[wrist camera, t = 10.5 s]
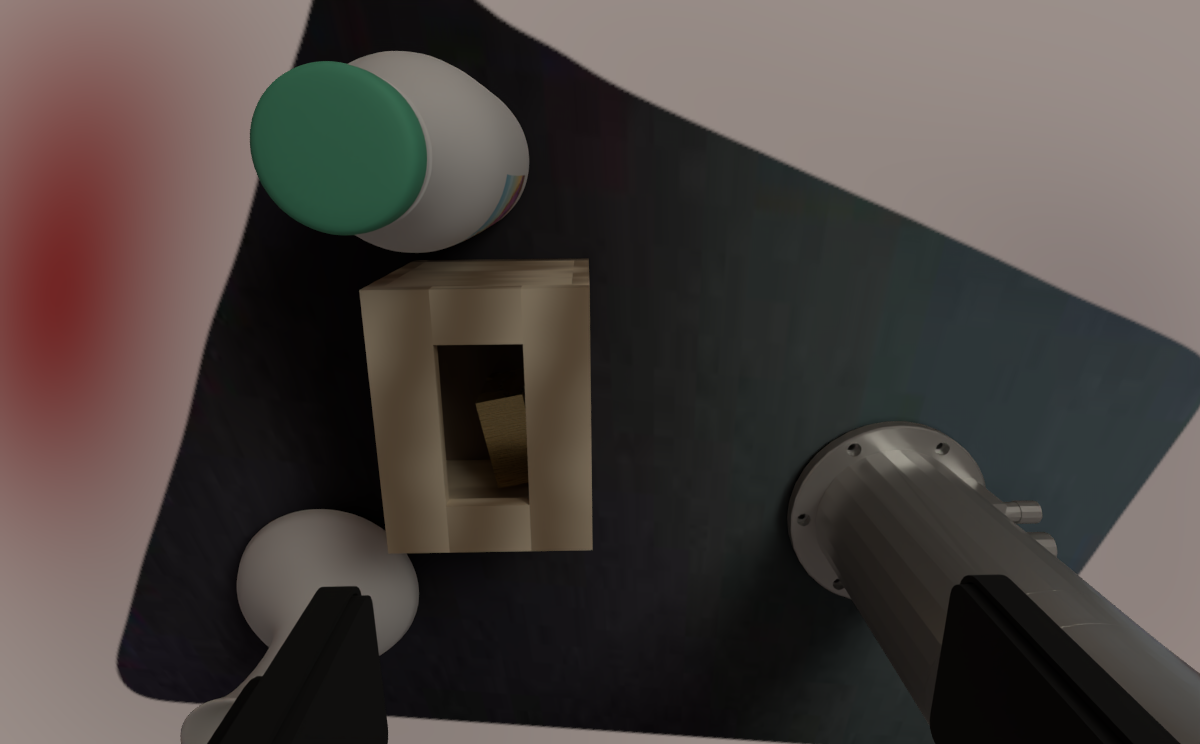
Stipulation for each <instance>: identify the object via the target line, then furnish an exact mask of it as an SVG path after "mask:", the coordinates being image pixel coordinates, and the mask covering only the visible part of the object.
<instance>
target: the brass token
mask: <svg viewBox="0 0 1200 744" xmlns="http://www.w3.org/2000/svg"><path fill="white" fill-rule="evenodd" d="M475 404H476V407H477V411H478V415H479V419H480V422H481V426H482V430H483V433H484V437H485V441H486V444H487V448H488V452H489V455H490V459H491V463H492V467H493V470H494V474H495V478H496V481H497V485H498V488H503V487H508V486H513V485H518V484H524V483H529V480H528V455H527V431H526V406H525V382H524V369H519V370H514V371H509V372H504V373H499V374H494V375H489V376H488V378H487V380H486V382H485V384H484V386H483V388H482V391H481V393H480V395H479V397H478V399H477V401H476V403H475Z"/></svg>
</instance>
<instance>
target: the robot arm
mask: <svg viewBox="0 0 1200 744" xmlns="http://www.w3.org/2000/svg"><path fill="white" fill-rule="evenodd" d="M851 444H852V446H851V447H849V446H850V445H851ZM848 447H849V448H848ZM801 514H802V515H801ZM800 515H801V516H800ZM1041 519H1042V510H1041V507H1040V505H1039V504H1038V503H1037V502H1036V501H1033V500H1032V501H1012V502H1002V501H1001V500H1000V499H998V498H997V497H996V496H995V495H993V494H992V493H991V492H990V491H988V490H987V489H986V486H985V481H984V478H983V476H982V473H981V471H980V469H979V467H978V465H977V463H976V462H975V461H974V459H973V458H972V457H971V455H970V454H969V453H968V451H967V450H965V449H964V448H963V447H962V446H960V445H959V444H958V443H957V442H956V441H954V440H953V439H951V438H950V437H948V436H947V435H945V434H944V433H942V432H941V431H939V430H936V429H934V428H931V427H928V426H926V425H923V424H918V423H912V422H906V421H886V422H880V423H875V424H870V425H866V426H863V427H860V428H858V429H855V430H852V431H850V432H847V433H846V434H844V435H842V436H840V437H839V438H837V439H835V440H834V441H832V442H830V443H829V444H828V445H827V446H826V447H824V448H823V449H822V450H821V451H820V452H818V453H817V454H816V455H815V456H814V458H813V459H812V460H811V461H810V462H809V463H808V465H807V466H806V467H805V468H804V470H803V471H802V473H801V475H800V476H799V478H798V480H797V482H796V483H795V486H794V489H793V491H792V494H791V497H790V500H789V506H788V514H787V524H788V534H789V538H790V541H791V544H792V547H793V550H794V552H795V553H796V555H797V557H798V559H799V561H800V563H801V564H802V566H803V567H804V569H805V570H806V571H807V573H808V574H809V575H810V576H811V577H812V578H813V579H814V580H815V581H816V582H818V583H819V584H820V585H821V586H822V587H824V588H826V589H827V590H829V591H831V592H832V593H834V594H837V595H840V596H843V597H845V598H848V599H851V600H852V601H853V602H854V604H855V606H856V607H857V609H858V610H859V612H860V614H861V615H862V617H863V619H864V620H865V622H866V623H867V625H868V627H869V628H870V630H871V632H872V633H873V635H874V636H875V638H876V640H877V641H878V643H879V644H880V646H881V648H882V649H883V651H884V653H885V654H886V656H887V657H888V659H889V661H890V662H891V664H892V666H893V667H894V669H895V670H896V672H897V674H898V675H899V677H900V678H901V680H902V682H903V683H904V685H905V687H906V688H907V690H908V691H909V693H910V695H911V696H912V698H913V699H914V701H915V703H916V704H917V706H918V708H919V709H920V711H921V712H922V714H923V716H924V717H925V719H926V721H927V722H928V724H929V725H930V729H931V734H932V737H933V740H934V742H935V744H1200V673H1198V672H1197V671H1196V670H1194V669H1193V668H1192V667H1191V666H1189V665H1188V664H1187V663H1185V662H1184V661H1183V660H1181V659H1180V658H1179V657H1178V656H1176V655H1175V654H1174V653H1172V652H1171V651H1170V650H1169V649H1167V648H1166V647H1165V646H1163V645H1162V644H1161V643H1160V642H1158V641H1157V640H1156V639H1154V637H1152V636H1151V635H1150V634H1149V633H1147V632H1146V631H1145V630H1144V629H1142V628H1141V627H1140V626H1139V625H1138V624H1136V623H1135V622H1134V621H1133V620H1132V619H1130V618H1129V617H1128V616H1127V615H1125V614H1124V613H1123V612H1122V611H1121V610H1119V609H1118V608H1117V607H1116V606H1115V605H1113V604H1112V603H1111V602H1110V601H1108V600H1107V599H1106V598H1105V597H1104V596H1102V595H1101V594H1100V593H1099V592H1098V591H1096V590H1095V589H1094V588H1093V587H1092V586H1090V585H1089V584H1088V583H1087V582H1085V581H1084V580H1083V579H1082V578H1081V577H1079V576H1078V575H1077V574H1076V573H1075V572H1073V571H1072V570H1071V569H1070V568H1069V567H1067V566H1066V565H1065V564H1064V563H1063V562H1061V561H1060V560H1059V559H1058V558H1056V556H1057V546H1056V544H1055V541H1054V539H1053V538H1052V537H1051V535H1050V534H1048V533H1046V532H1025V531H1024V530H1023V529H1021V528H1020V527H1019V526H1018V525H1017V524H1031V523H1038V522H1040V521H1041ZM1015 523H1016V524H1015ZM387 743H388V725H387V717H386V709H385V700H384V692H383V684H382V676H381V667H380V659H379V651H378V642H377V634H376V626H375V618H374V609H373V602H372V599H371V596H369V595H361V591H360V589H359V588H358V587H357V586H335V587H321V588H319V589H318V590H317V591H316V593H315V594H314V596H313V598H312V599H311V601H310V602H309V604H308V605H307V607H306V609H305V610H304V612H303V613H302V615H301V616H300V618H299V620H298V621H297V623H296V624H295V626H294V627H293V629H292V631H291V632H290V634H289V635H288V637H287V638H286V640H285V642H284V643H283V645H282V646H281V648H280V650H279V651H278V653H277V654H276V656H275V657H274V659H273V661H272V662H271V664H270V665H269V667H268V668H267V670H266V672H265V673H264V675H263V676H256V677H255V678H253V679H251V680H250V681H249V682H248V683H247V684H246V686H245V687H244V688H243V690H242V691H241V693H240V694H239V696H238V697H237V699H236V700H235V702H234V703H233V705H232V706H231V708H230V709H229V711H228V712H227V714H226V715H225V717H224V719H223V720H222V722H221V723H220V725H219V726H218V728H217V729H216V731H215V732H214V734H213V735H212V737H211V738H210V740H209V741H208V743H207V744H387Z"/></svg>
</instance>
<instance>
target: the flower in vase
mask: <svg viewBox="0 0 1200 744" xmlns="http://www.w3.org/2000/svg"><path fill="white" fill-rule="evenodd" d="M335 586H357V587H358V588H359V589H360V591H361V595H369V596H371V599H372V602H373V609H374V618H375V626H376V634H377V642H378V651H379V656H380V655H381V654H383V653H384V652H386V651H387V650H388V649H390V648H391V647H392V646H393V645H394V644H395V643H397V642H398V641H399V640H400V639H401V638H402V637H403V635H404V634H405V633H406V632H407V630H408V629H409V627H410V625H411V624H412V622H413V620H414V617H415V615H416V611H417V607H418V601H419V587H418V580H417V576H416V573H415V570H414V567H413V565H412V563H411V561H410V559H409V557H408V556H407V554H406V553H393V554H388V547H387V538H386V531H385V530H383V529H382V528H381V527H379V526H377V525H376V524H374V523H373V522H371V521H369V520H367V519H364V518H362V517H360V516H357V515H354V514H351V513H347V512H342V511H337V510H328V509H310V510H302V511H298V512H294V513H290V514H287V515H285V516H282V517H279V518H277V519H276V520H274V521H272V522H270V523H269V524H267V525H266V526H265V527H263V528H262V529H261V530H260V531H259V532H258V533H257V534H256V535H255V536H254V537H253V538H252V539H251V541H250V542H249V544H248V545H247V547H246V549H245V551H244V553H243V555H242V558H241V561H240V564H239V570H238V576H237V596H238V602H239V605H240V608H241V611H242V613H243V615H244V617H245V619H246V621H247V623H248V624H249V626H250V627H251V629H252V630H253V631H254V632H255V634H256V635H257V636H258V637H259V638H260V639H261V640H262V641H263V642H264V643H265V644H266V645H267V646H268V647H269V649H268V650H267V652H266V654H265V656H264V657H263V658H262V660H261V661H260V663H259V664H258V665H257V667H256V668H255V669H254V670H253V672H252V673H251V674H250V675H249V676H248V677H247V678H246V680H245V681H244V682H243V683H242V684H241V685H240V686H238V687H237V688H236V689H235V690H234V691H233V692H231V693H230V694H228V695H227V696H225V697H223V698H219V699H215V700H211V701H209V702H206V703H204V704H202V705H200V706H199V707H197V708H196V709H195V710H193V711H192V712H191V713H190V714H189V715H188V717H187V718H186V719H185V721H184V723H183V725H182V729H181V744H207V743H208V741H209V740H210V738H211V737H212V735H213V734H214V732H215V731H216V729H217V728H218V726H219V725H220V723H221V722H222V720H223V719H224V717H225V715H226V714H227V712H228V711H229V709H230V708H231V706H232V705H233V703H234V702H235V700H236V699H237V697H238V696H239V694H240V693H241V691H242V690H243V688H244V687H245V686H246V684H247V683H248V682H249V681H250V680H251V679H253V678H255V677H256V676H263V675H264V673H265V672H266V670H267V668H268V667H269V665H270V664H271V662H272V661H273V659H274V657H275V656H276V654H277V653H278V651H279V650H280V648H281V646H282V645H283V643H284V642H285V640H286V638H287V637H288V635H289V634H290V632H291V631H292V629H293V627H294V626H295V624H296V623H297V621H298V620H299V618H300V616H301V615H302V613H303V612H304V610H305V609H306V607H307V605H308V604H309V602H310V601H311V599H312V598H313V596H314V594H315V593H316V591H317V590H318V589H319V588H321V587H335Z"/></svg>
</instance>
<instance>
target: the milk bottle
mask: <svg viewBox="0 0 1200 744" xmlns="http://www.w3.org/2000/svg"><path fill="white" fill-rule="evenodd" d="M250 148H251V155H252V160H253V163H254V167H255V170H256V172H257V175H258V177H259V179H260V181H261V183H262V185H263V187H264V188H265V190H266V192H267V193H268V194H269V196H270V197H271V198H272V200H273V201H274V202H275V203H276V204H277V205H278V206H279V207H280V208H281V209H282V210H283V211H284V212H285V213H287V214H288V215H289V216H290V217H292V218H293V219H295V220H296V221H298V222H300V223H302V224H304V225H305V226H307V227H310V228H312V229H314V230H317V231H320V232H324V233H328V234H334V235H355V236H357V237H359V238H361V239H362V240H364V241H367V242H369V243H371V244H373V245H376V246H378V247H381V248H384V249H388V250H392V251H398V252H410V253H423V252H432V251H437V250H441V249H445V248H447V247H450V246H453V245H456V244H458V243H461V242H463V241H465V240H467V239H469V238H471V237H473V236H475V235H476V234H478V233H480V232H482V231H483V230H485V229H487V228H488V227H490V226H491V225H493V224H495V223H496V222H498V221H499V220H500V219H502V218H503V217H504V216H505V215H506V214H507V213H508V212H509V211H510V210H511V209H512V208H513V207H514V206H515V204H516V203H517V201H518V200H519V198H520V196H521V194H522V192H523V190H524V188H525V185H526V181H527V177H528V171H529V152H528V146H527V142H526V138H525V136H524V133H523V130H522V128H521V126H520V124H519V123H518V121H517V119H516V118H515V116H514V115H513V114H512V112H511V111H510V110H509V108H508V107H507V106H506V105H505V104H504V103H503V102H502V101H501V100H500V99H498V98H497V97H496V96H495V95H494V94H492V93H491V92H490V91H489V90H487V89H486V88H485V87H483V86H482V85H481V84H480V83H478V82H477V81H475V80H474V79H473V78H471V77H470V76H469V75H467V74H466V73H464V72H462V71H461V70H459V69H457V68H455V67H454V66H452V65H450V64H448V63H446V62H444V61H442V60H439V59H437V58H434V57H431V56H428V55H424V54H420V53H414V52H405V51H386V52H380V53H375V54H371V55H368V56H364V57H362V58H359V59H357V60H354V61H352V62H350V63H349V64H345V63H340V62H331V61H322V62H313V63H308V64H304V65H301V66H299V67H296V68H294V69H292V70H290V71H288V72H286V73H284V74H283V75H282V76H280V77H278V78H277V79H276V80H275V81H274V82H273V83H272V84H271V85H270V86H269V87H268V88H267V89H266V91H265V92H264V93H263V95H262V96H261V98H260V100H259V102H258V104H257V106H256V109H255V111H254V114H253V118H252V122H251V129H250Z"/></svg>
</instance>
